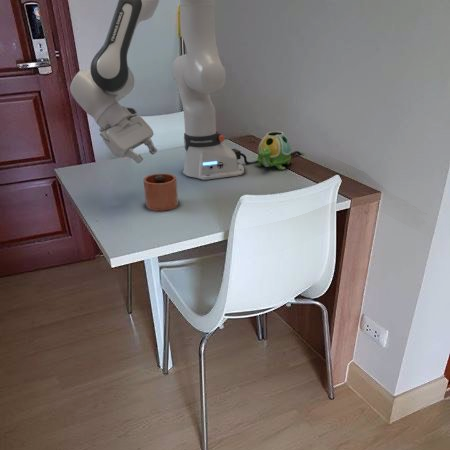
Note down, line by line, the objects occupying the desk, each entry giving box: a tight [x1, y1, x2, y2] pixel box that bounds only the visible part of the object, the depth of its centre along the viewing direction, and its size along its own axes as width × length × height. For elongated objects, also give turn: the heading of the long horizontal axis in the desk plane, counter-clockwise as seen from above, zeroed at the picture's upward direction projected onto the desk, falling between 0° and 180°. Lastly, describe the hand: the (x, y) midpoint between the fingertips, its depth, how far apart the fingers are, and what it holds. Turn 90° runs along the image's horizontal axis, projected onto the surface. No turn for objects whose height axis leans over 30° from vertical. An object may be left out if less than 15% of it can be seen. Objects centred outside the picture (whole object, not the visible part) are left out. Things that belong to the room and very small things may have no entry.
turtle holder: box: [256, 130, 292, 171], centre depth 181 cm, size 12×18×12 cm
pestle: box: [155, 173, 165, 183], centre depth 152 cm, size 4×4×9 cm
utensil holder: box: [143, 173, 179, 212], centre depth 152 cm, size 10×10×8 cm
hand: (148, 157), depth 147 cm, fingers open, 8 cm apart
